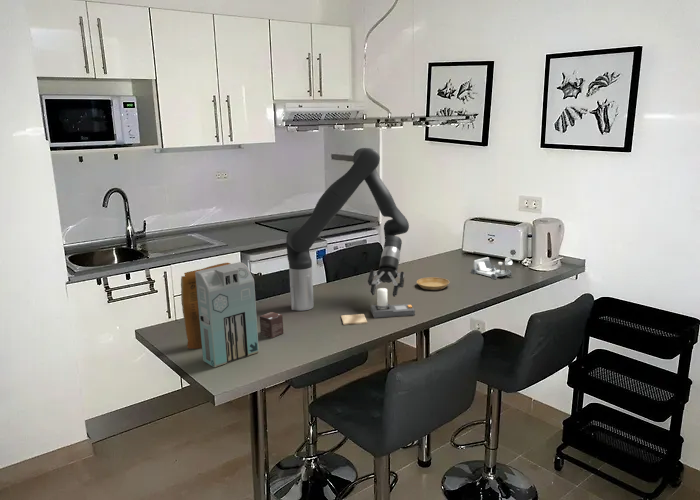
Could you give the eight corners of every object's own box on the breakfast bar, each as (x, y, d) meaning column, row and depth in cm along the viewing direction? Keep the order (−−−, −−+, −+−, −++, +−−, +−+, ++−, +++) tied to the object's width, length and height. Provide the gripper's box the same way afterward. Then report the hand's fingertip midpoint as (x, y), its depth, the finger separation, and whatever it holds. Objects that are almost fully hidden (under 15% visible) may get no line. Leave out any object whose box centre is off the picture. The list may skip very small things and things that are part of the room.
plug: (378, 315, 219) (377, 291, 216) (376, 312, 223) (376, 288, 220) (388, 315, 219) (388, 290, 217) (386, 311, 223) (386, 287, 221)
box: (272, 330, 207) (271, 311, 205) (284, 333, 203) (283, 314, 201) (260, 335, 202) (259, 315, 200) (271, 338, 198) (270, 319, 197)
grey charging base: (374, 317, 216) (374, 311, 216) (370, 311, 224) (370, 304, 224) (414, 315, 218) (414, 308, 218) (410, 308, 226) (410, 302, 225)
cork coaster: (343, 324, 210) (343, 323, 210) (341, 316, 218) (341, 315, 218) (367, 323, 211) (367, 321, 211) (363, 315, 219) (363, 313, 219)
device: (215, 368, 175) (207, 276, 169) (203, 361, 181) (194, 271, 174) (259, 353, 186) (253, 265, 179) (246, 346, 192) (240, 261, 185)
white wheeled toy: (516, 257, 265) (500, 261, 259) (515, 277, 268) (500, 281, 261) (487, 251, 280) (471, 254, 273) (486, 270, 282) (470, 274, 275)
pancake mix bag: (240, 339, 198) (235, 263, 192) (188, 353, 187) (180, 273, 181) (232, 334, 203) (226, 259, 197) (181, 347, 192) (173, 269, 186)
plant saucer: (439, 293, 245) (439, 288, 244) (410, 288, 254) (410, 283, 253) (455, 285, 256) (455, 280, 256) (426, 280, 265) (426, 275, 265)
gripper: (371, 254, 228) (363, 289, 220) (405, 255, 223) (399, 291, 215) (375, 263, 234) (367, 298, 226) (408, 265, 229) (402, 300, 221)
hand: (383, 295), depth 220 cm, fingers open, 8 cm apart
